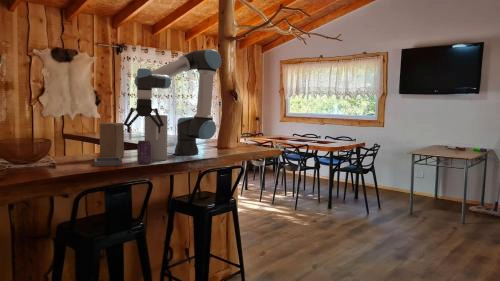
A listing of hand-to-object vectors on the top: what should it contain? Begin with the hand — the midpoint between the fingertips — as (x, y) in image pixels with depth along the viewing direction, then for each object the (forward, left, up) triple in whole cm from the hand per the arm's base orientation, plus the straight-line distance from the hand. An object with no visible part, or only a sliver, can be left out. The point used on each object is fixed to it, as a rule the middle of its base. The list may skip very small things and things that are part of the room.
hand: (143, 139), depth 211 cm
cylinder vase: (-8, -13, -13) cm, 20 cm away
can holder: (+18, -2, -13) cm, 22 cm away
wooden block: (+15, -23, -13) cm, 30 cm away
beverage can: (0, 0, -13) cm, 13 cm away
